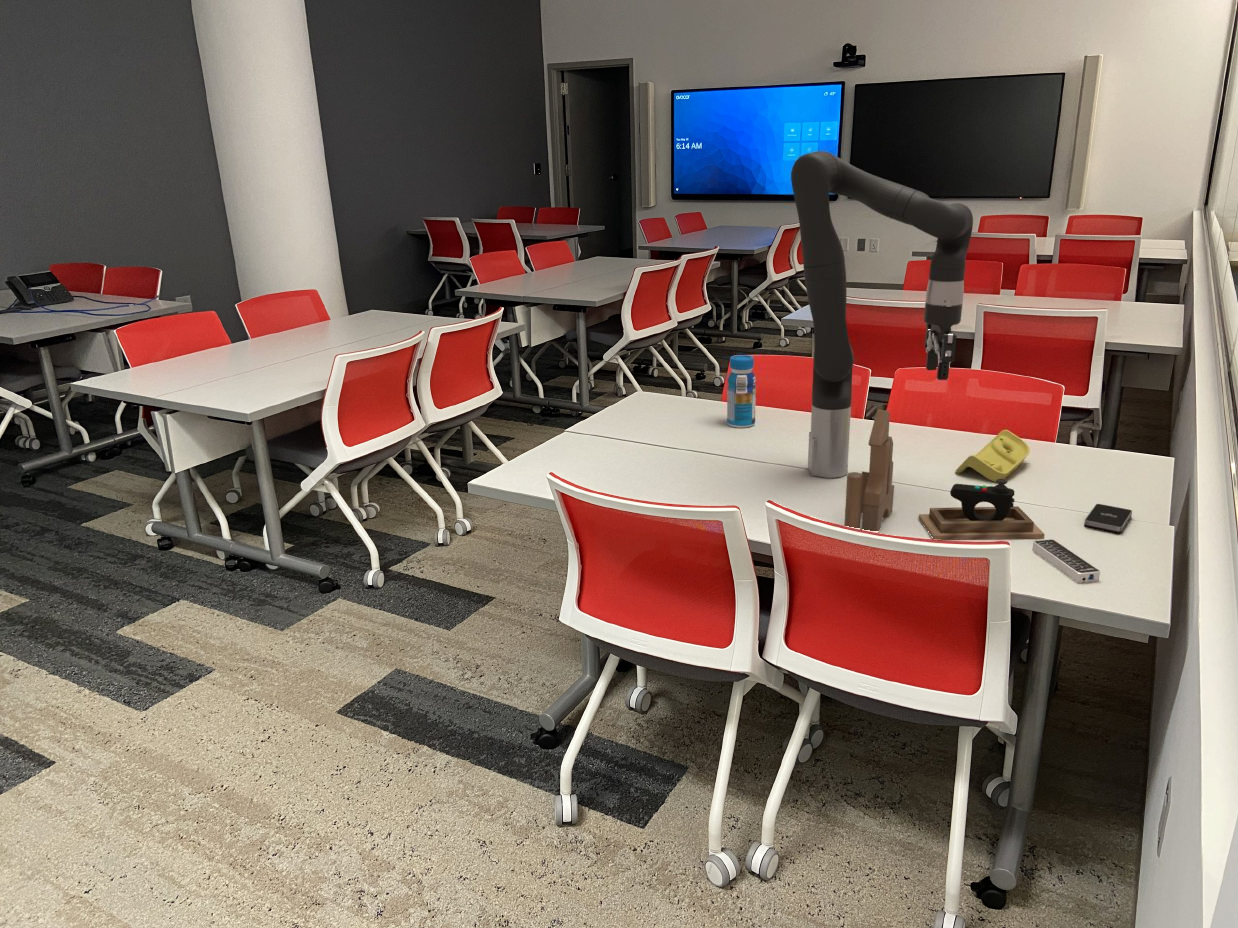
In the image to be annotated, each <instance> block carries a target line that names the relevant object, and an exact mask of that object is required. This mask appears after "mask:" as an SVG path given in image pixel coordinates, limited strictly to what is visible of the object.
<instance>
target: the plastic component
mask: <svg viewBox="0 0 1238 928" xmlns="http://www.w3.org/2000/svg"><path fill="white" fill-rule="evenodd" d="M1030 451H1031V450H1030V447H1029V445H1028V443H1026V441H1024V440H1023V439H1022V438H1021V437H1020V436H1018V435H1016V434H1014V433H1013V432H1011V431H1010V430H1008V429H1004V430H1003V429H1002V430H1001V431H1000V432H999V433H997V435H996V436H994V438H993V439H991V440H990V442H988V443H987V444H986V445H985V446H984V447H983V448H981V449H980V451H978V452H977V453H976V454H971V455H969V456H968V457H967V458H966V459H965V460H964V461H963V462H962V463H961V464H960V465H959V467H957V468H956V470H955V472H956V473H957V472H958V474H961V472H962V473H963V472H965V471H966V468H967V469H968V468H972V469H973V470H974V471H976V472H977V473H979V474H980V475H982V476H983V477H985V478H987V480H989V481H991V482H993V481H994V482H993V483H997V482H996V480H997V479H1005V480H1006V478H1008V476H1010V475H1011V474H1012V473H1013V472H1014V471H1016V470H1017V469H1018V467H1020V465H1021V464H1022V463H1023V462H1024V461H1025V459H1026V458H1028V456H1029V455H1030Z"/></svg>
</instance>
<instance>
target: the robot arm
mask: <svg viewBox="0 0 1238 928" xmlns="http://www.w3.org/2000/svg"><path fill="white" fill-rule="evenodd" d="M790 182H791V187H792V188H791V189H792V193H793V197H794V201H795V208H796V212H797V216H798V222H799V234H800V242H801V243H800V244H801V253H802V266H803V276H804V277H803V278H804V285H805V288H806V289H805V290H806V295H807V299H808V305H809V308H810V313H811V318H812V323H813V334H814V337H813V338H814V339H813V340H814V346H813V347H814V351H813V359H812V360H813V362H812V363H813V364H812V365H813V366H812V386H811V387H812V389H811V391H812V392H811V418H810V420H811V422H810V431H809V433H808V451H807V453H808V454H807V455H808V456H807V469H808V471H809V474H810V476H811V477H820V478H825V479H826V478H828V479H829V478H830V479H833V478H836V479H837V478H841V477H844V476H847V475H848V473H849V472H848V471H849V469H848V467H849V452H850V450H849V449H850V446H849V445H850V435H851V434H850V431H851V414H852V413H851V412H852V398H853V397H852V396H853V395H852V391H853V368H854V363H855V358H854V350H853V348H852V346H851V342H850V339H849V338H850V337H849V333H848V332H849V331H848V328H847V317H846V316H847V292H848V291H847V271H846V261H845V259H846V258H845V253H844V250H843V245H842V242H841V240H840V238H839V235H838V234H837V231H836V229H835V226H834V224H833V221H832V215H831V209H830V208H831V207H830V194H834V195H839V196H843V197H847V198H850V199H853V200H855V201H857V202H860V203H861V204H863V205H865V206H866V207H867V208H869V209H871V210H872V211H874V212H876V213H878V214H879V215H882V216H884V217H886V218H888V219H891V220H895V221H898V222H900V223H903V224H905V225H909V226H912V227H914V228H915V229H918V230H919V231H921V232H923V233H925V234H927V235H930V236H931V237H934V238H936V239H937V240H936V246H935V247H936V248H935V251H934V252H933V254H932V255H931V260H930V263H929V264H930V266H929V273H928V275H929V276H928V283H927V288H926V294H925V301H924V302H925V303H924V311H923V312H924V314H923V321H924V323H926V328H925V329H926V330H925V337H924V345H923V347H924V349H925V352H926V364H925V369H926V370H927V371H936V379H937V380H939V381H948V379H949V373H950V372H949V371H950V365H951V363H953V362H955V358H956V357H955V355H956V344H957V334H956V333H953V332H952V326H957V325H959V324H960V323H961V322H962V312H963V305H964V304H963V303H964V294H965V292H964V291H965V285H964V283H965V273H966V271H965V270H966V260H967V259H966V258H967V253H968V249H969V246H970V242H971V237H972V233H973V225H974V217H973V212H972V210H971V209H970V208H969V207H968V206H967V205H966V204H964V203H959V202H954V203H951V204H950V203H947V202H942V201H939V200H937V199H934V198H931V197H929V195H928V194H926V193H924V192H923V191H920V190H917V189H914V188H911V187H908V186H906V185H903V184H900V183H897V182H894V181H891V180H889V179H884V178H882V177H880V176H877V175H873V174H872V173H869V172H866V171H865V170H862V169H861V168H858V167H856V166H854V165H852V163H851V164H850V163H848V162H847V161H845V160H844V159H841V158H840V157H838V156H836V155H835V154H832V153H831V152H829V151H825V150H817V151H812V152H808V153H805V154H802V155H801V156H799V157H797V159H796V160H795V161H794V163H793V165H792V167H791V171H790Z"/></svg>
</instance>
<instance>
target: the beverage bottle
mask: <svg viewBox="0 0 1238 928" xmlns="http://www.w3.org/2000/svg"><path fill="white" fill-rule="evenodd" d="M754 361H755V360H754V356H752V355H748V354H736V355H732V356H730V358H729V368H730V372H729V374H728V376H727V379H726V380H727V384H728V385H727V387H726V394H727V395H726V397H727V399H726V401H727V402H726V403H727V404H726V405H727V411H726V412H727V415H726V423H727V425H728V426H730V427H732V428H737V429H743V428H744V429H745V428H751V427H754V425H755V424H756V402H757V400H756V398H757V397H756V396H757V394H756V393H757V386H756V382H757V379H756V376H755V374H754V372H753V369H754V366H755V362H754Z"/></svg>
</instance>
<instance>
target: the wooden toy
mask: <svg viewBox="0 0 1238 928" xmlns="http://www.w3.org/2000/svg"><path fill="white" fill-rule="evenodd" d="M890 417H891V412H890V410H885V409H884V410H881V409H878V410H877V411H876V413H875V417H874V421H873V424H872V429H871V431H870V432H871V433H870V435H869V440H868V446H870V451H869V452H870V453H869V455H870V456H869V469H868V471H861V472H853V471H852V472H847V474H846V490H845V505H844V507H845V509H844V526H849V527H854V528H860V529H861V530H862V529H864V530H870V531H879V530H880V531H881V529H882V522H883V518H887V517H888V518H890V516H891V514H892V513H893V509H894V508H893V507H894V497H895V495H894V494H895V485H894V484H893V475H894V474H893V473H894V461H893V455H894V454H893V453H894V441H893V437H892V436H890V435H889V431H890V420H891V419H890ZM861 519H862V520H861ZM880 528H881V529H880ZM880 531H879V532H880Z"/></svg>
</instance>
